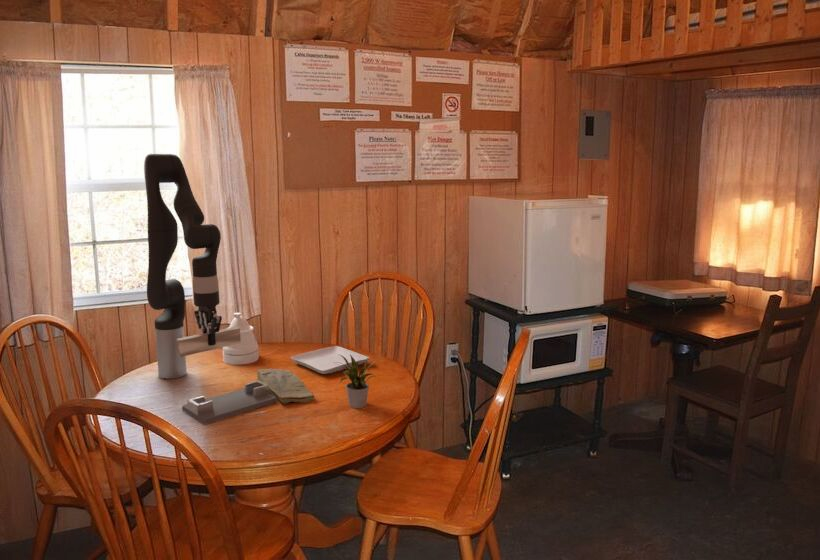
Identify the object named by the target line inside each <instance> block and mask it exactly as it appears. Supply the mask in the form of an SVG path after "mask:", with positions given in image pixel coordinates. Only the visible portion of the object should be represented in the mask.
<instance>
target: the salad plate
mask: <svg viewBox="0 0 820 560" xmlns="http://www.w3.org/2000/svg"><path fill="white" fill-rule="evenodd" d="M338 354H339V355H338ZM340 355H342V356H343V357H345V358H346V360H347V361H348V363H349V365H350V367H352V361H351V356H352V357H353V358H354V359H355V361H356V363H358V362H359V363H358V366H360V365H364V364H365V362H366V360H367V358H368V360H367V362H368V361H369V360H370V357H369V356H367V355H364V354H361V353H359V352H356V351H353V350H351V349H350V350H349V349H347V348H344V347H342V346H338V345H334V346H329V347H324V348H323V347H322V348H320V349H316V350H315V349H314V350H311V351H307V352H304V353H299V354H296V355H292V356H290V358H291V360H292V361H293V362H295V363H296V364H298V365H300V366H303V367H306V368H308V369H310V370H313V371H314V372H317V373H318V374H322V375H328V374H329V373H330V374H333V372H334V373H337V372H336V371H338V372H341V371H344V370H343V369H344V368H345V369H346V370H348V369H347V368H349V367H348V365H347V363H346V361H345V360H344V358H343V357H342V356H340ZM350 355H351V356H350ZM359 356H360V357H359ZM358 359H359V360H358ZM333 362H339V363H333ZM341 363H342V364H341ZM343 364H344V365H345V366H346V367H347V368H346V367H345V366H344V365H343ZM342 366H343V367H344V368H343V367H342ZM352 368H353V367H352ZM340 370H341V371H340Z"/></svg>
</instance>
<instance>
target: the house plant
mask: <svg viewBox="0 0 820 560" xmlns="http://www.w3.org/2000/svg"><path fill="white" fill-rule="evenodd" d="M338 355H339V354H338ZM340 356H342V355H340ZM350 356H351V355H350ZM342 357H343V356H342ZM359 357H360V356H359ZM343 358H344V360H345V361H346V363H347V365H348V367H349V369H348V368H347V367H346V366H345V365H344V364H343V365H344V366H345V367H346V368H347V369H345V368H344V367H343V366H342V367H343V368H344V369H345V370H343V372H342V373H343V374H345V375H346V377H341V378H340V381H339V383H342V382H343V381H345V380H347V379H349V381H350V382H348V383H347V384H346V385H345V389H346V394H347V400H348V405H349V407H350V406H351V407H350V408H352V407H353V409H361V408H364V406H365V407H366V406H367V403H368V395H369V388H370V384H369V383H367V381H368V380H369V379H371V378H372V377H373V378H374V377H375V375H373V373H366V372H367V371H368V370H369V369H370V368H371V367H372V366H373V364H374V363H376V362H378V361H379V359H377V360H374V361H372V363H370V365H367V363H368V361H369V360H368V358H367V360H368V361H367V360H366V362H365V363H363V367H362V368H360V370H359V365H358V363H359V362H358V363H356V361H355V359H354V358H353V357H352V356H351V361H352V368H351V367H350V365H349V363H348V361H347V360H346V358H345V357H343ZM358 360H359V359H358ZM333 363H339V362H333ZM341 364H342V363H341ZM368 376H369V377H368ZM367 377H368V378H367ZM366 378H367V379H366Z"/></svg>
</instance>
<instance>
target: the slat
mask: <svg viewBox="0 0 820 560" xmlns="http://www.w3.org/2000/svg"><path fill="white" fill-rule="evenodd" d="M215 339H216V344H215V345H212V346H210V345H208V333H203V332H202V333H199V334H194V335H189V336H184V338H179V339H177V351H178V355H179V356H181V357H182V356H190V355H195V354H199V353H203V352H208V351H212V350H217V349H223V347H226V346H231V345H235V344H239V343H241V340H240V328H238V327H232V328H228V327H227V328H224V329H223V328H222V329H219V332H216V333H215Z"/></svg>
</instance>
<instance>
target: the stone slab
mask: <svg viewBox="0 0 820 560" xmlns="http://www.w3.org/2000/svg"><path fill="white" fill-rule="evenodd" d="M256 372H257V373H256V374H257V380H259V381H261V382H263V383H265V384H267V385H269V394H270V395H272V396H274V397H276V401H279V402H280V403H282V404H283V405H287V404H289V403H290V402H291V403H292V402H294V403H299V402H300V403H301V404H302V403H303V402H304V403H309V402H313V400H315V396H314V393H313V392H311V390H309V389H308V387H306V386H305V384H304V382H303V381H302V380H301V378H300V377H299V376H298V375H297V374H296V373H294V372H293V371H292V370H290V369H276V368H267V369H266V368H261V369H257V371H256ZM304 403H303V404H304Z"/></svg>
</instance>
